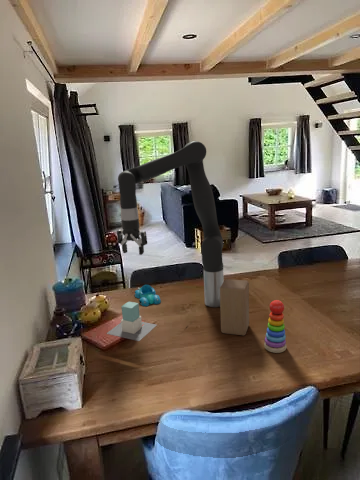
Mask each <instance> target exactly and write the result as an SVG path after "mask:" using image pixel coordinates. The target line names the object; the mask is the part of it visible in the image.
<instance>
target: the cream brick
mask: <svg viewBox="0 0 360 480" xmlns="http://www.w3.org/2000/svg"><path fill="white" fill-rule="evenodd" d="M142 322H143V320H142V315H140V317H139V318H137V319H136V320H135V321H134V322H131V321H126V320H123V318H122V319H121V320H120V323H121V326H122V331H123V332H128V333H133V334H135V333H136V332H137V331H138V330H139V329H140V328H142Z"/></svg>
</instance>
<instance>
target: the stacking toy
mask: <svg viewBox="0 0 360 480" xmlns="http://www.w3.org/2000/svg"><path fill="white" fill-rule="evenodd" d="M269 310H270V313H269V315H268V316H269V318H268V320H267V322H268V323H267V328H266V333H265V337H264V343H263V344H264V345H263V347H264V348H265V350H266V351H267V352H271V353H274V354H275V353H276V354H279V353H283V352H285V351H286V349H287V343H286V342H287V340H286V338H287V336H286V330H285V327H286V326H285V319H284V317H285V315H284V310H285V304H284V303H283V302H282V301H281V300H279V299H275V300H272V301H271V302H270V303H269Z"/></svg>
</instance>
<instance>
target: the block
mask: <svg viewBox="0 0 360 480" xmlns="http://www.w3.org/2000/svg"><path fill="white" fill-rule="evenodd" d="M219 308H220V309H219V311H220V331H221V333H222V334H228V335H235V336H237V335H238V336H246V334H247V331H248V328H249V324H250V282H249V280H246V279H229V278H226V279H225V278H224V282H223V284H222V285H221V287H220V307H219Z"/></svg>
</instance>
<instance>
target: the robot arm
mask: <svg viewBox="0 0 360 480" xmlns="http://www.w3.org/2000/svg"><path fill="white" fill-rule="evenodd" d="M206 156H207V148H206V146H205V144H203V142H200V141H197V140H194V141H190V142H188V143H186V144H185V145H184V147H182V148H181V149H179V150H177V151H175V152H173V153H170V154H167V155H164V156H162V157H158V158H155V159H153V160H152V159H151V160H150V161H147V162H145V163H143V164H140V165H138V166H135V167H131V168H128V169H126V170H123V171H121V172H120V173H119V174H118V176H117V182H118V188H119V195H120V198H119V201H120V202H119V203H120V218H121V229H118V230H116V235H117V236H116V237H117V238H116V239H117V244H120V245H121V250H122V252H123V254H127V253H128V245H127V243H128V242H129V241H131V242H135V244H137V245H138V253H139V254H138V255H144V254H145V249H144V248H145V247H144V246H146V245H148V238H147V232H146V230H144V231H140V219H139V218H140V217H139V209H138V202H137V201H138V200H137V193H136V192H137V190H136V189H137V187H136V184H139V183H141V182H145V181H149V180H152V179H154V178H157V177H159V176H161V175H163V174H166V173H168V172H170V171H172V170H174V169H178V168H180V167H183V166H186V169H187V170H186V171H187V173H188V178H189V183H190V192H191V196H192V197H191V198H192V201H193V206H194V209H195V213H196V215H197V217H198V219H199V221H200V224H201V226H202V231H203V241H202V243H201V263H202V267H203V292H204V304H205V306H207V307H211V308H220V287H221V285H222V284H223V282H224V280H225V278H224V263H223V248H224V238H223V236H222V233H221V230H220V227H219V224H218V217H217V216H218V215H217V210H216V209H217V207H216V203H215V197H214V193H213V188H212V187H211V184H210V182H209V179H208V177H207V175H206V172H205V165H204V159H205V158H206Z"/></svg>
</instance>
